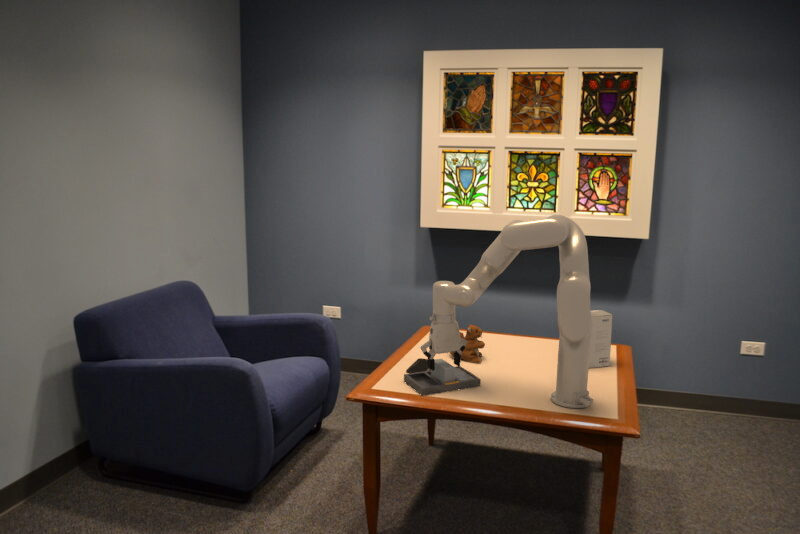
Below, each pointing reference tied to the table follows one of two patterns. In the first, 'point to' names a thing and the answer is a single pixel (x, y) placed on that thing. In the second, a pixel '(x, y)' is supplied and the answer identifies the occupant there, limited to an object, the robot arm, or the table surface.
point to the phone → (418, 366)
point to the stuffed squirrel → (472, 345)
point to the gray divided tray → (432, 386)
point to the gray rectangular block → (443, 371)
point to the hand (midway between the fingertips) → (444, 367)
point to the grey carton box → (600, 339)
